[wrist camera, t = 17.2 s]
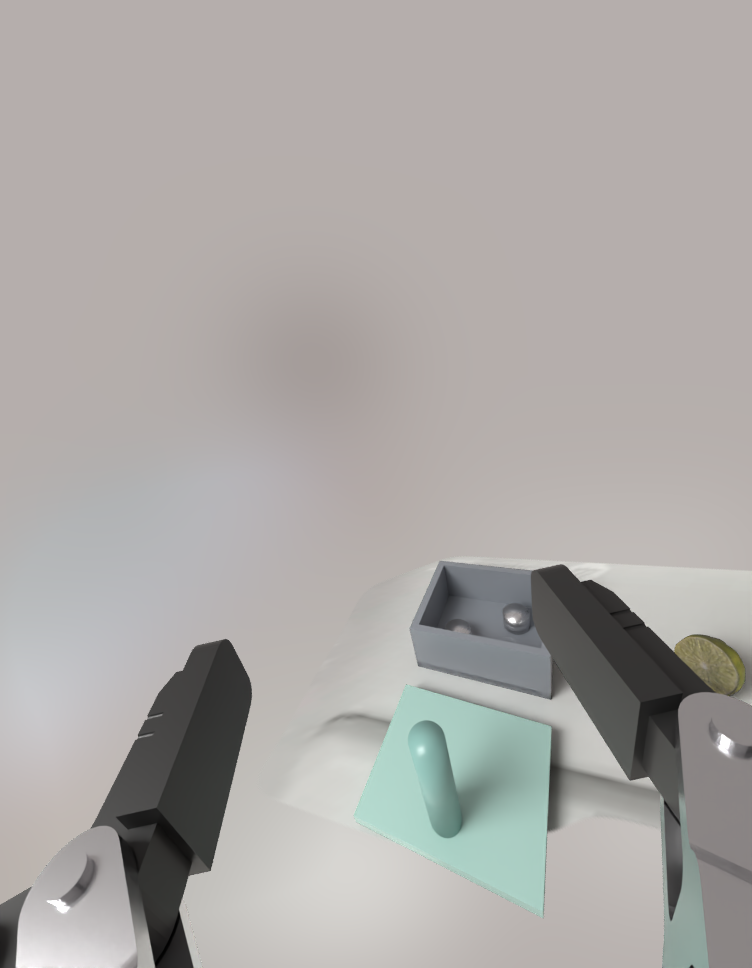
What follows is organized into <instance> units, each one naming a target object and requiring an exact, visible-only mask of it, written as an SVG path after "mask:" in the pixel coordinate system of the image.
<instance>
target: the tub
mask: <svg viewBox="0 0 752 968" xmlns="http://www.w3.org/2000/svg"><path fill="white" fill-rule="evenodd" d="M531 572H532V571H530V570H521V569H512V568H502V567H493V566H483V565H474V564H465V563H455V562H446V561H439V564H438V566H437V568H436V570H435V573H434V575H433V577H432V579H431V582H430V584H429V586H428V588H427V591H426V593H425V595H424V597H423V600H422V602H421V604H420V606H419V609H418V611H417V613H416V615H415V618H414V620H413V622H412V624H411V627H410V633H411V637H412V641H413V645H414V650H415V654H416V658H417V663H418V666H420V667H424V668H428V669H432V670H436V671H440V672H444V673H448V674H452V675H456V676H460V677H464V678H468V679H472V680H476V681H480V682H484V683H488V684H492V685H496V686H500V687H503V688H507V689H511V690H515V691H519V692H523V693H527V694H531V695H535V696H539V697H543V698H547V699H551V690H552V666H553V658H552V656H551V655H550V653H549V652H548V650H547V648H546V647H545V645H544V644H543V642H542V640H541V639H540V637H539V635H538V633H537V630H536V627H535V624H534V621H533V616H532V596H531ZM511 603H518V604H521V605H524V606H525V607H526V608H527V609H528V610H529V613H530V629H529V631H528V632H527V633H525V634H522V635H515V634H512V633H510V632H508V631H507V630H506V629H505V627H504V623H503V608H504V607H505V606H506V605H508V604H511ZM454 619H462V620H464V621H466V622H468V623H469V625H470V627H471V634H472V635H470V634H465V633H460V632H455V631H450V630H445V626H446V624H447V623H448V622H449V621H451V620H454Z"/></svg>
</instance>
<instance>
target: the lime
mask: <svg viewBox="0 0 752 968" xmlns="http://www.w3.org/2000/svg"><path fill="white" fill-rule="evenodd" d="M674 651H675V652H674V653H675V654H676V655H677V656H678V657H679V658H680V659H681V660H682V661H684V662H685V663H686V664H687V665H688V666H689V667H690V668H691V669H692V670H693V671H694V672H695V673H696V674H697V675H698V676H699V677H700V678H701V679H702V680H703V681H704V682H705V683H706V684H707V685H708V686H709V687H710V688H711V689H712V690H714V691H715V692H716V693H718V694H723V695H727V696H729V695H731V694H733V693H735V692H737V691H739V690H740V689H741V687H742V686H743V684H744V682H745V667H744V665H743V662H742V660H741V659H740V657H739V655H738V654H737V653H736V651H735V650H733V649H732V648H731V647H729V646H728V645H726V643H725V642H723V641H722V640H720V639H717V638H713V637H710V636H706V635H696V634H695V635H690V636H687V637H685V638H684V639H683V640H681V641H680V642H678V643H677V644H676V646H675V650H674Z"/></svg>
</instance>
